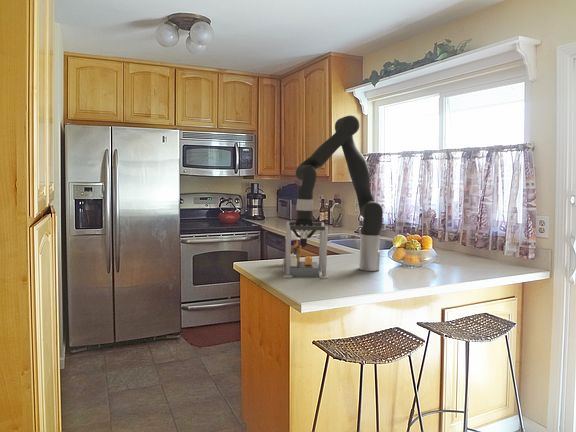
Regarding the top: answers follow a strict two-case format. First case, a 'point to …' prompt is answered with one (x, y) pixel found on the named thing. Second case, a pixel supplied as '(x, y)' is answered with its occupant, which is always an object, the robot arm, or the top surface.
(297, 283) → the top surface
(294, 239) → the smoothie
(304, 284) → the top surface
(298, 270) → the gray open tray
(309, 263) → the toggle orange
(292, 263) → the toggle white near
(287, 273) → the gray open frame stand
